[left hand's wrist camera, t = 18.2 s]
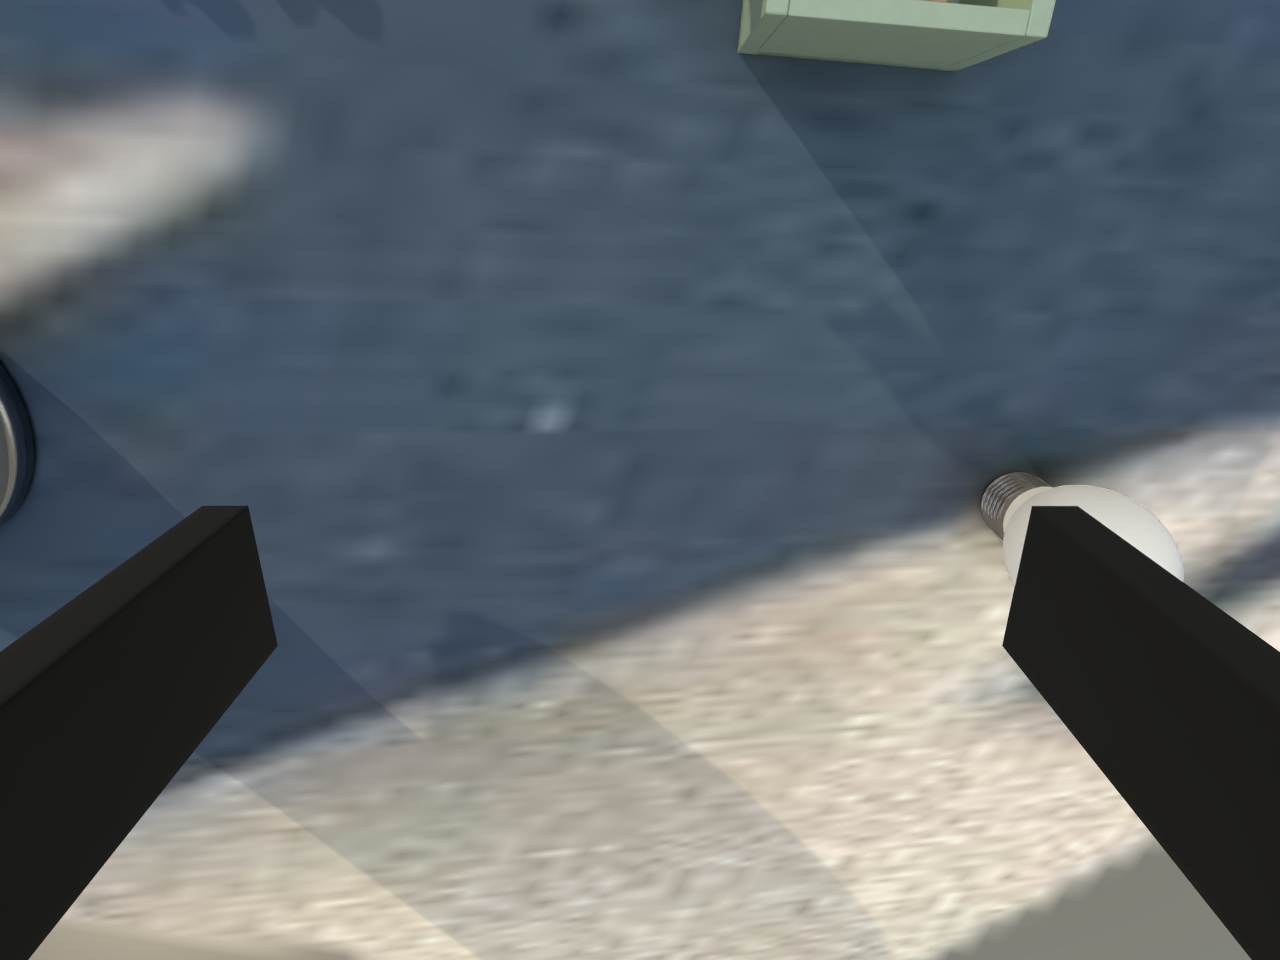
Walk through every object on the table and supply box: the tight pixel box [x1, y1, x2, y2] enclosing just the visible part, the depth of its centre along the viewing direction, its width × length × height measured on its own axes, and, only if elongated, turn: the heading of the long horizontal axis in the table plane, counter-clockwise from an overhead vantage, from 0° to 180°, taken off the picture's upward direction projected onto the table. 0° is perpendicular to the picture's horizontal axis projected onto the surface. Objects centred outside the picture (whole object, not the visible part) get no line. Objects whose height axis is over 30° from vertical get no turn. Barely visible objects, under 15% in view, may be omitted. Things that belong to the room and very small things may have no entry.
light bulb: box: [981, 472, 1184, 587], centre depth 36 cm, size 7×7×11 cm
